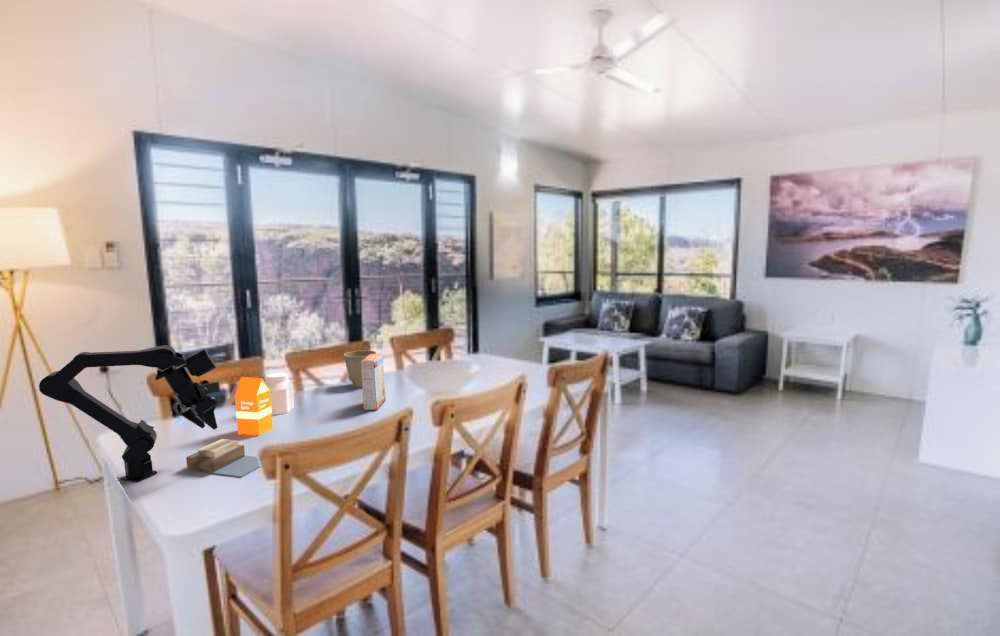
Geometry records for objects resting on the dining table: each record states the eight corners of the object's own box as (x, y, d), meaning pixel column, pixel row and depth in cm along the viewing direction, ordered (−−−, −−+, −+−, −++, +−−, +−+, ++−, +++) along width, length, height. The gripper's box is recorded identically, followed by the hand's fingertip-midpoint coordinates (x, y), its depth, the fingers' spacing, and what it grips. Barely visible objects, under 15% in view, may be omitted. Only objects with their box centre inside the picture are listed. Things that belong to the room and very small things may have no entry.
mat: (213, 474, 150) (213, 472, 150) (246, 456, 162) (246, 455, 162) (241, 477, 147) (241, 476, 147) (272, 459, 160) (272, 458, 159)
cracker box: (372, 400, 222) (370, 353, 219) (386, 400, 221) (384, 353, 219) (362, 410, 208) (359, 360, 205) (377, 410, 208) (374, 360, 205)
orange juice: (259, 435, 181) (255, 380, 178) (237, 434, 182) (232, 379, 180) (273, 428, 188) (269, 375, 186) (252, 427, 190) (248, 374, 187)
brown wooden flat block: (187, 469, 153) (186, 457, 152) (219, 454, 164) (218, 442, 164) (214, 473, 150) (213, 460, 150) (245, 457, 162) (244, 445, 161)
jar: (284, 415, 204) (282, 378, 202) (261, 415, 204) (258, 378, 202) (297, 406, 215) (294, 371, 213) (274, 406, 215) (272, 371, 213)
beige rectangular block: (198, 456, 153) (197, 449, 153) (222, 445, 162) (221, 439, 161) (214, 458, 151) (214, 451, 151) (237, 446, 160) (237, 440, 160)
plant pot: (339, 388, 242) (337, 355, 240) (357, 380, 256) (355, 349, 254) (366, 390, 238) (364, 357, 236) (383, 383, 252) (382, 351, 250)
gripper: (220, 369, 151) (246, 413, 156) (195, 371, 163) (221, 411, 168) (183, 390, 143) (212, 436, 148) (160, 390, 155) (188, 432, 160)
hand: (209, 427), depth 156 cm, fingers open, 9 cm apart
